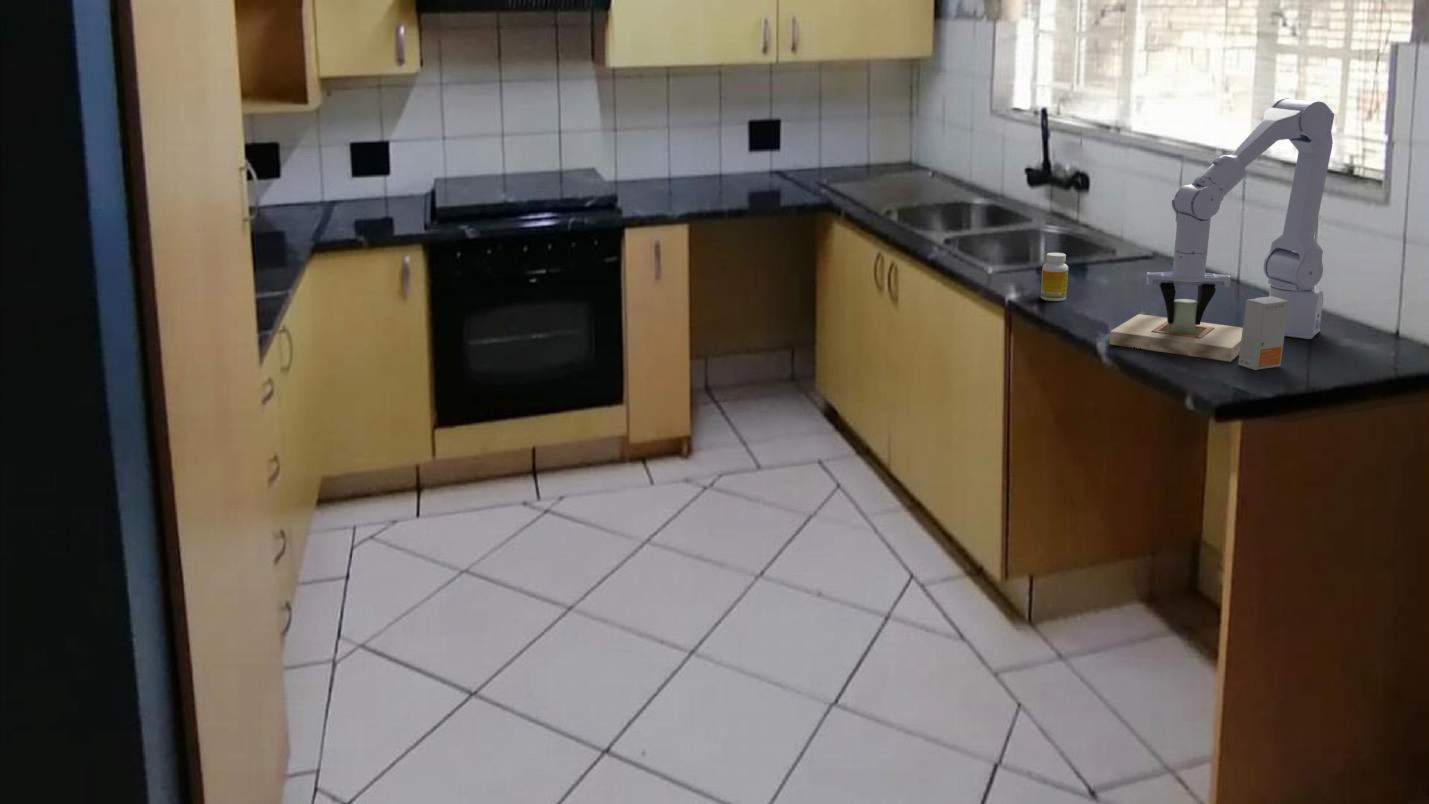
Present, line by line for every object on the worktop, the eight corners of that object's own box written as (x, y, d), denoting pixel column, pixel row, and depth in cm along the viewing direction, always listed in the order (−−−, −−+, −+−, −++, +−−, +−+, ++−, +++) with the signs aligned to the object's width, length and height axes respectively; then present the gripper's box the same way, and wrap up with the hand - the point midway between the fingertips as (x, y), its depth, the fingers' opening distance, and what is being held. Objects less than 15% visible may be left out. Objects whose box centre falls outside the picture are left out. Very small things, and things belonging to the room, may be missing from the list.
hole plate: (1253, 342, 245) (1255, 328, 244) (1230, 361, 232) (1231, 347, 231) (1137, 326, 257) (1138, 313, 256) (1109, 344, 245) (1110, 330, 244)
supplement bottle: (1067, 301, 278) (1070, 256, 275) (1041, 301, 279) (1044, 256, 276) (1065, 296, 283) (1068, 252, 280) (1039, 295, 284) (1042, 251, 281)
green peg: (1193, 330, 246) (1196, 299, 244) (1196, 336, 242) (1199, 304, 240) (1168, 329, 247) (1171, 298, 245) (1171, 335, 242) (1174, 303, 241)
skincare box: (1255, 371, 226) (1263, 304, 223) (1237, 365, 230) (1244, 299, 227) (1282, 366, 229) (1290, 300, 225) (1263, 361, 233) (1271, 295, 229)
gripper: (1229, 248, 242) (1221, 319, 246) (1147, 246, 245) (1141, 316, 249) (1235, 255, 235) (1227, 328, 239) (1151, 253, 238) (1144, 325, 242)
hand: (1183, 322), depth 243 cm, fingers closed on green peg, 4 cm apart
